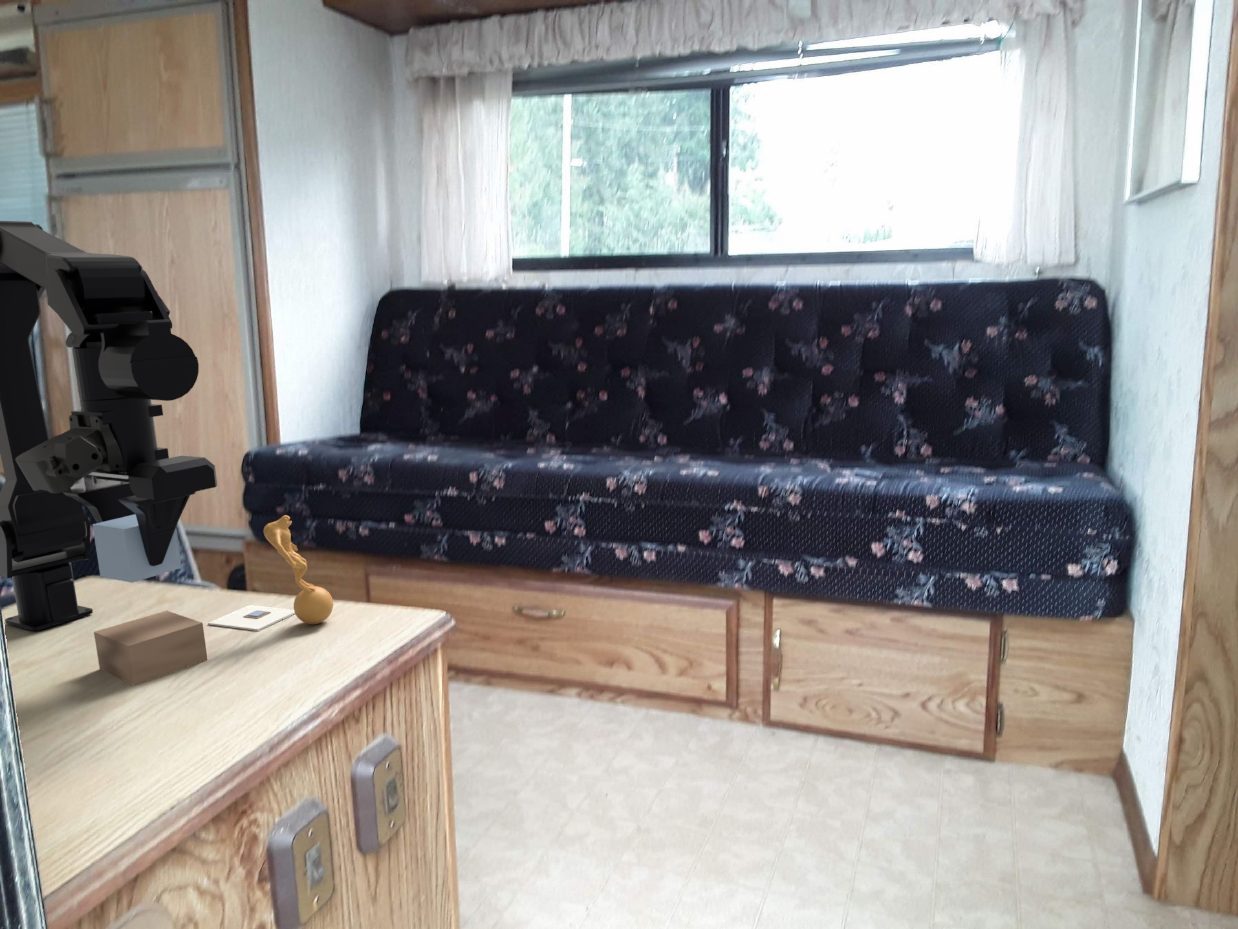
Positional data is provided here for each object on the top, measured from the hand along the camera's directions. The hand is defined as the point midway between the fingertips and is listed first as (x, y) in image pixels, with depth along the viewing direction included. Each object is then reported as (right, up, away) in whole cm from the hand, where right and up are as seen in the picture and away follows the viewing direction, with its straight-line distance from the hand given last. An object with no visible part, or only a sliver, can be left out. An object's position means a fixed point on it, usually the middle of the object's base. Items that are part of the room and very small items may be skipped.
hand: (139, 561), depth 88 cm
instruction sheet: (+6, -8, +14) cm, 17 cm away
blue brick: (0, -1, 0) cm, 1 cm away
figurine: (+12, -8, +11) cm, 18 cm away
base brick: (+1, -10, +2) cm, 10 cm away
